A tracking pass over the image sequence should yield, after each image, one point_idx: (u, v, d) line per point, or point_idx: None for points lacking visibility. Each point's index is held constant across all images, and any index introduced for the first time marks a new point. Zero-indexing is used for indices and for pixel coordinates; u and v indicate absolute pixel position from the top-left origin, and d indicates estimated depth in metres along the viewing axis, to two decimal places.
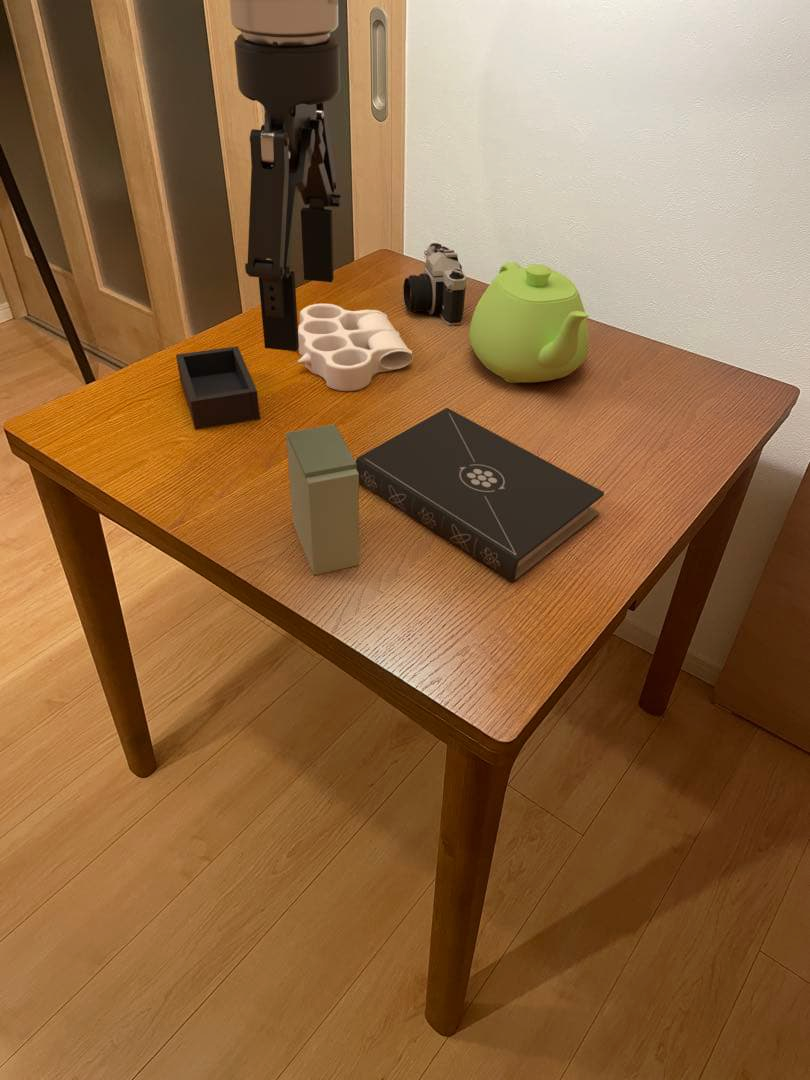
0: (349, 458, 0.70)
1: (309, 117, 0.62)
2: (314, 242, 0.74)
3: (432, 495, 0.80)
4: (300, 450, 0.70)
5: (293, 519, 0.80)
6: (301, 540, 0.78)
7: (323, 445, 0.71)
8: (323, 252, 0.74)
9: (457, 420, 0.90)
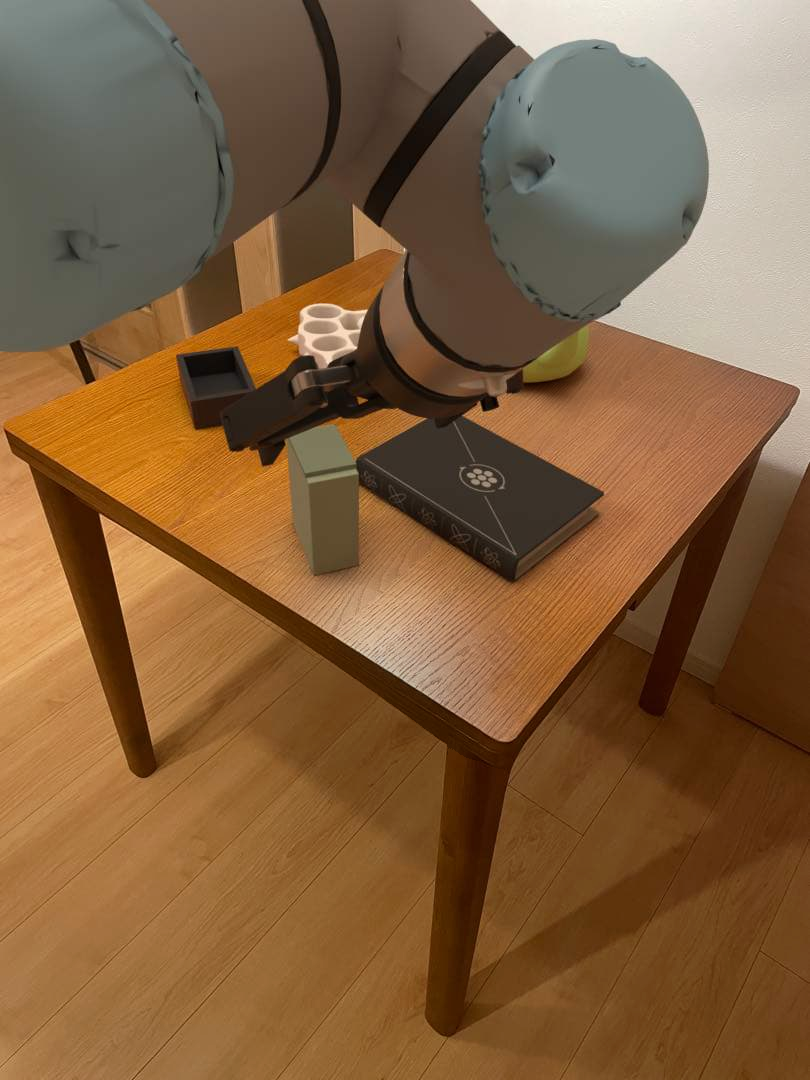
0: (349, 458, 0.70)
1: None
2: None
3: (432, 495, 0.80)
4: (300, 450, 0.70)
5: (293, 519, 0.80)
6: (301, 540, 0.78)
7: (323, 445, 0.71)
8: None
9: (457, 420, 0.90)
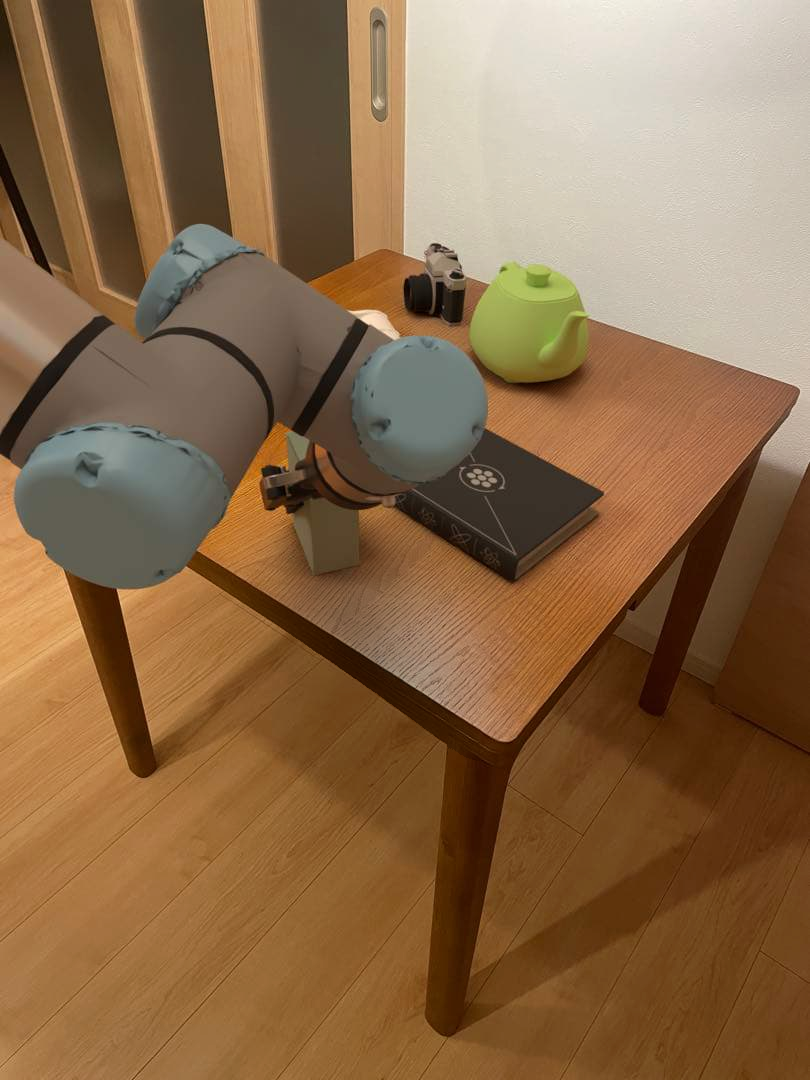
0: None
1: None
2: None
3: (432, 495, 0.80)
4: (300, 450, 0.70)
5: (293, 519, 0.80)
6: (301, 540, 0.78)
7: None
8: None
9: None
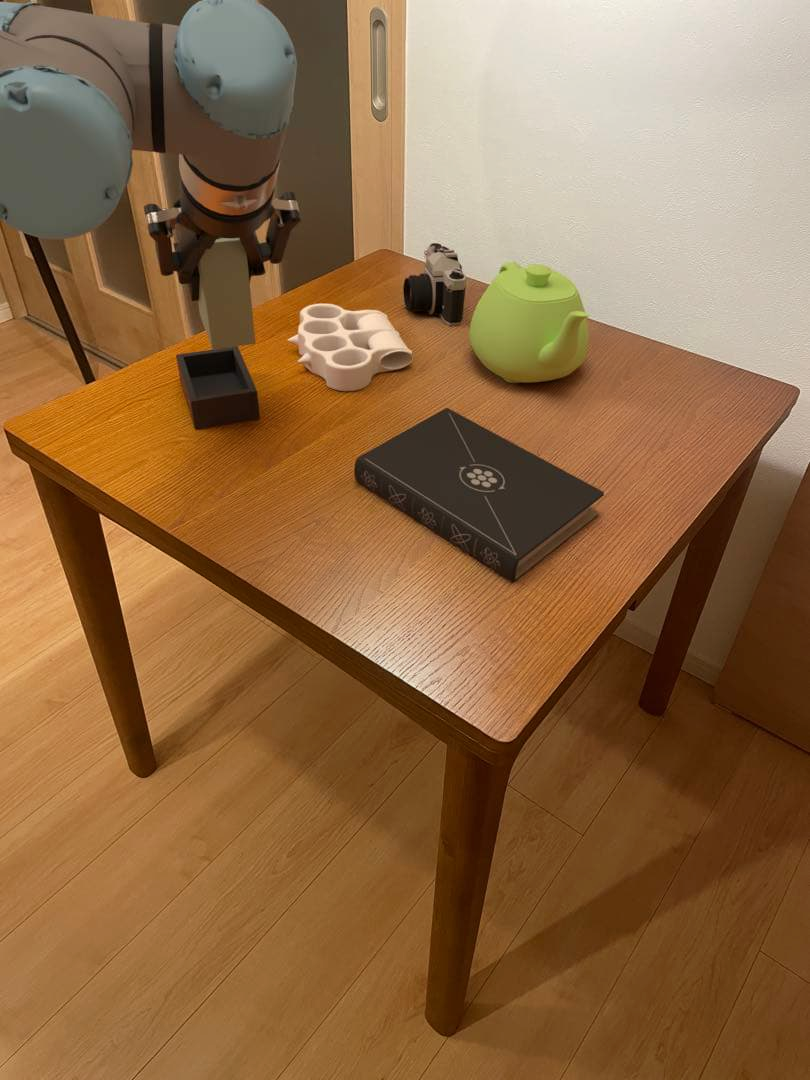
0: None
1: None
2: None
3: (432, 495, 0.80)
4: None
5: (199, 309, 0.86)
6: (204, 323, 0.84)
7: None
8: None
9: (457, 420, 0.90)
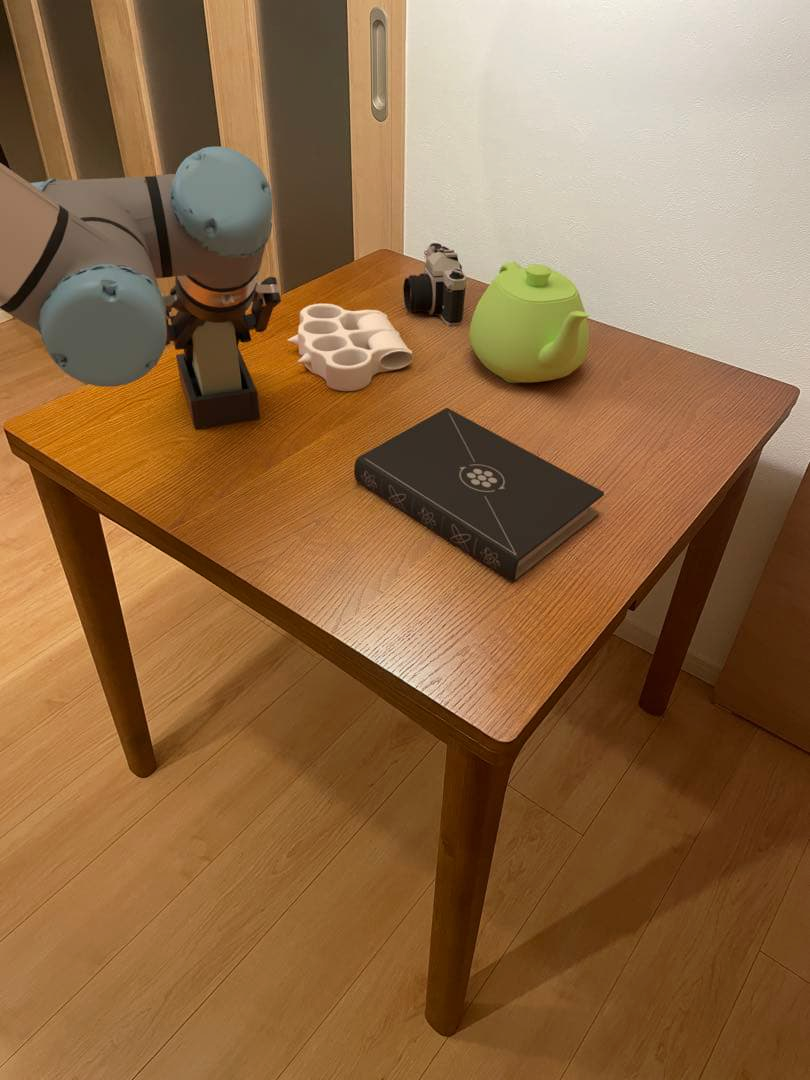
0: None
1: None
2: None
3: (432, 495, 0.80)
4: None
5: (193, 368, 0.97)
6: (197, 382, 0.95)
7: None
8: None
9: (457, 420, 0.90)
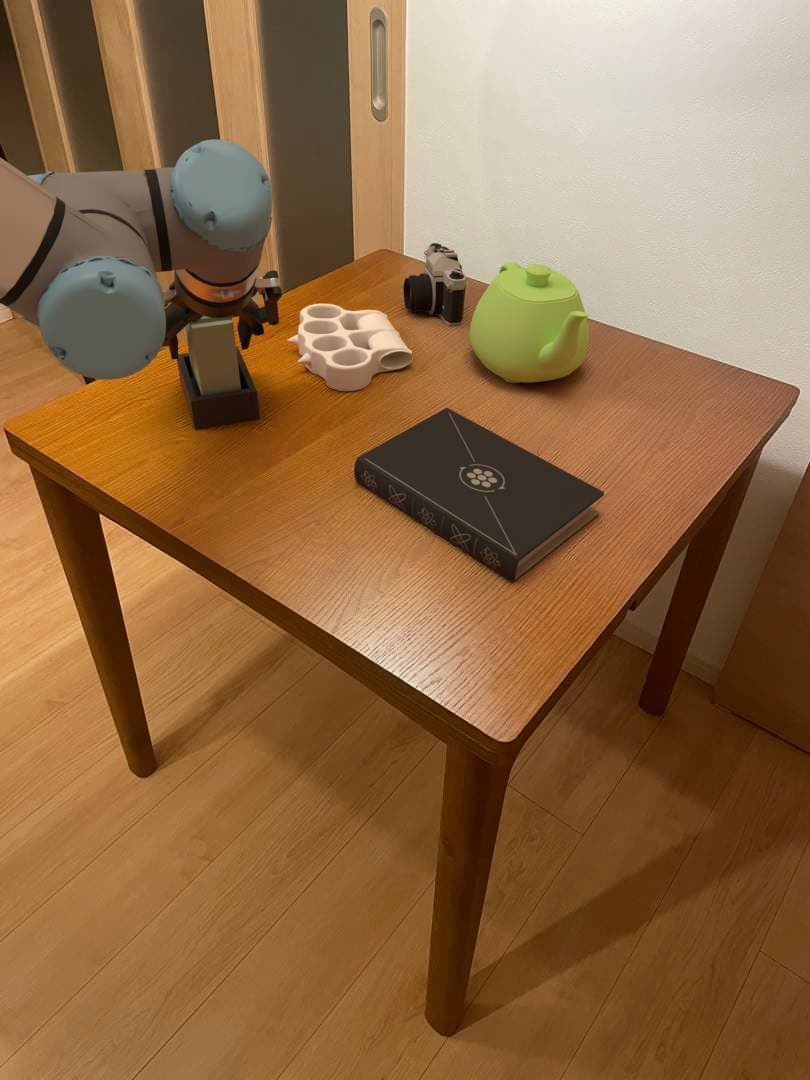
0: None
1: None
2: (241, 327, 0.93)
3: (432, 495, 0.80)
4: None
5: (193, 376, 0.97)
6: (197, 390, 0.95)
7: None
8: (242, 336, 0.94)
9: (457, 420, 0.90)
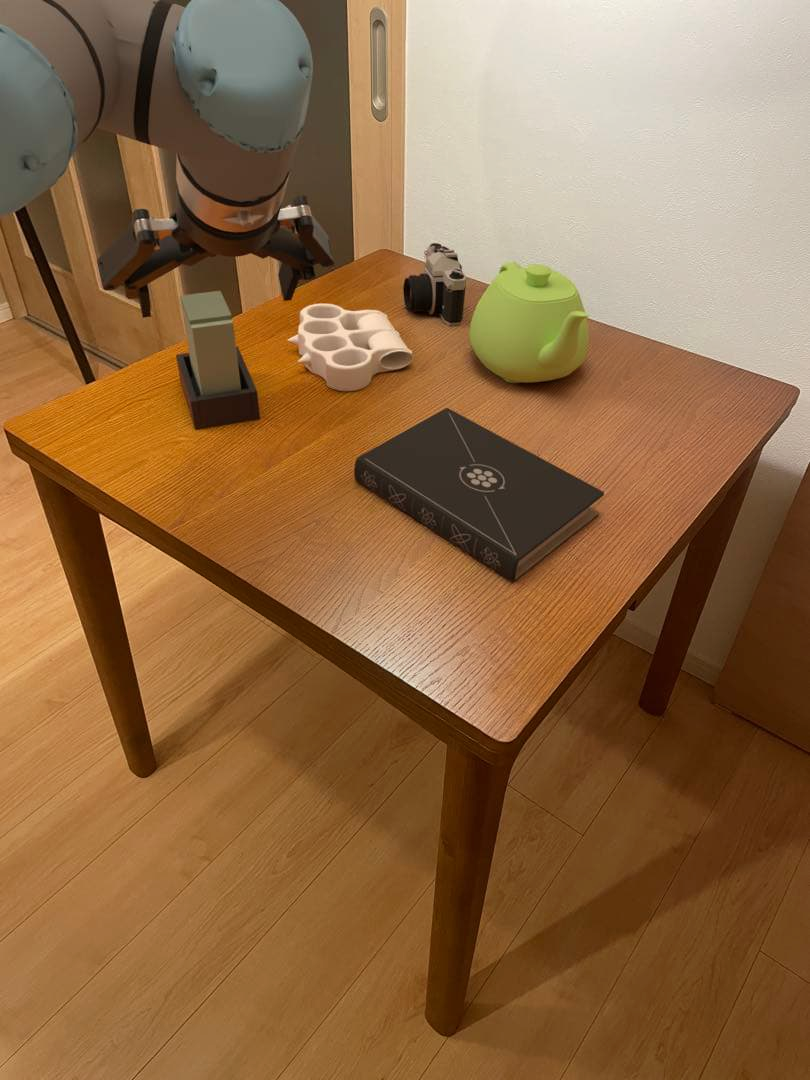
0: (226, 311, 0.88)
1: None
2: (285, 271, 0.76)
3: (432, 495, 0.80)
4: (188, 306, 0.88)
5: (193, 376, 0.97)
6: (197, 390, 0.95)
7: (207, 303, 0.89)
8: (286, 283, 0.77)
9: (457, 420, 0.90)
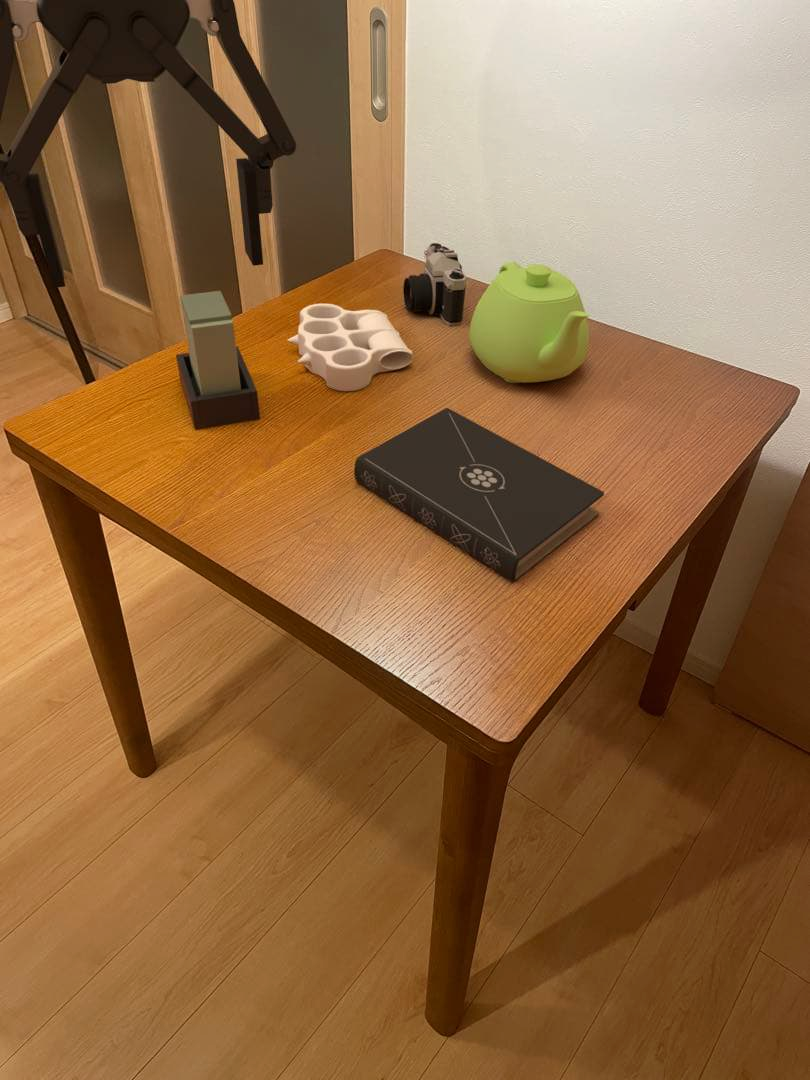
0: (226, 311, 0.88)
1: (137, 11, 0.46)
2: (243, 206, 0.56)
3: (432, 495, 0.80)
4: (188, 306, 0.88)
5: (193, 376, 0.97)
6: (197, 390, 0.95)
7: (207, 303, 0.89)
8: (247, 222, 0.56)
9: (457, 420, 0.90)
